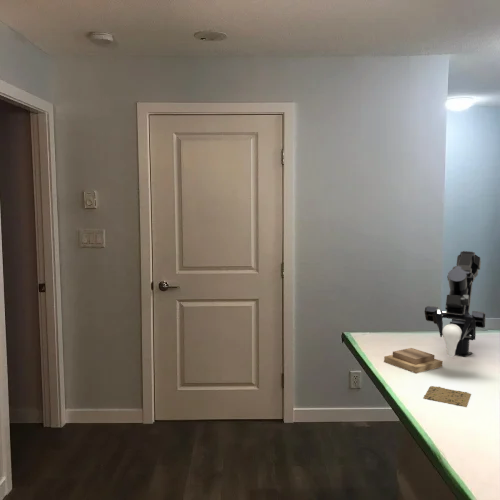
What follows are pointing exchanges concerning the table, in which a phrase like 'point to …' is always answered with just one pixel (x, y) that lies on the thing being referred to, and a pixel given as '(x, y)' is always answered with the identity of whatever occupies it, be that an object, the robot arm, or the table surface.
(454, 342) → the lightbulb
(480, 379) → the table surface
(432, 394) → the cookie
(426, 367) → the plinth
